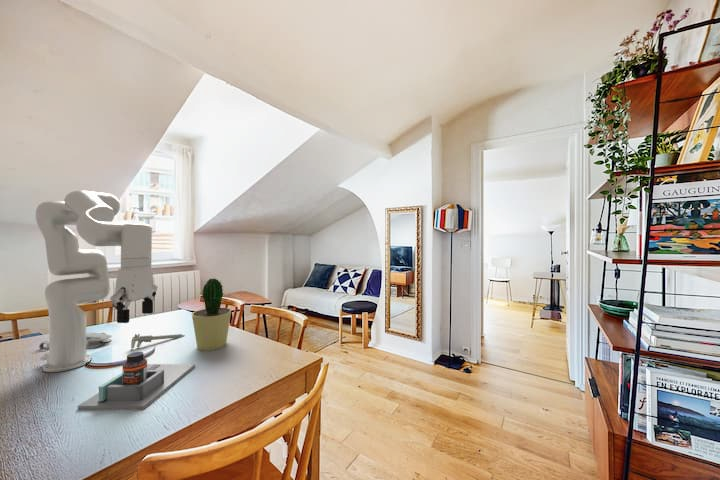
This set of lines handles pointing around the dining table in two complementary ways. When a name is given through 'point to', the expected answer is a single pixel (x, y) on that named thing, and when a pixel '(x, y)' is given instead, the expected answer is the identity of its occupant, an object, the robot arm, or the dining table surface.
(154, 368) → the housing
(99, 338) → the car model
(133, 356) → the supplement bottle
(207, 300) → the potted cactus
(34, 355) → the dining table surface
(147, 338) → the caliper
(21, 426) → the dining table surface
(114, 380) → the bar
